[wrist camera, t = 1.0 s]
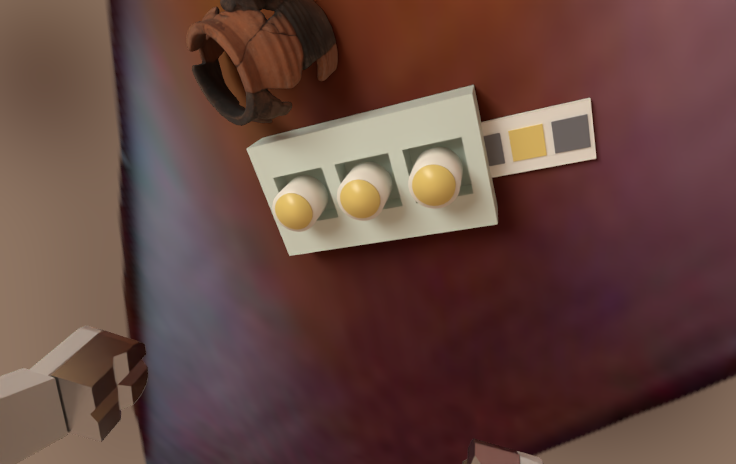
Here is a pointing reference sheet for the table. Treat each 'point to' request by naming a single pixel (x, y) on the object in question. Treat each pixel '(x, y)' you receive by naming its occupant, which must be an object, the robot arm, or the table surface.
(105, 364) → the robot arm
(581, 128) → the card
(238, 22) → the pottery mug
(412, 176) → the button
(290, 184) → the button
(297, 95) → the table surface
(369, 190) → the button
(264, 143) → the button board
